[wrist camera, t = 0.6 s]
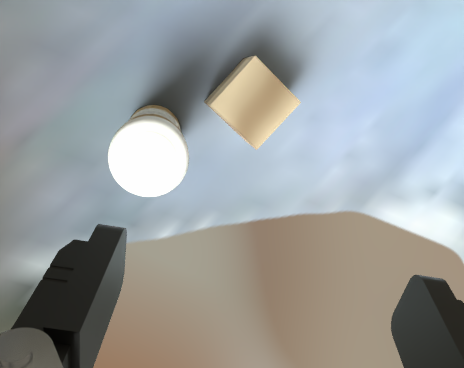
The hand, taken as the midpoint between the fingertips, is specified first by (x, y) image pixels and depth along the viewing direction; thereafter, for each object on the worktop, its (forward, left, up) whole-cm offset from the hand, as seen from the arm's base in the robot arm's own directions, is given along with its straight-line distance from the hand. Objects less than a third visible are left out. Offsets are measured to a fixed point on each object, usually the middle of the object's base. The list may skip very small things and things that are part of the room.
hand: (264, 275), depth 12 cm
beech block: (-1, +5, -27) cm, 28 cm away
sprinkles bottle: (-3, -3, -27) cm, 27 cm away
